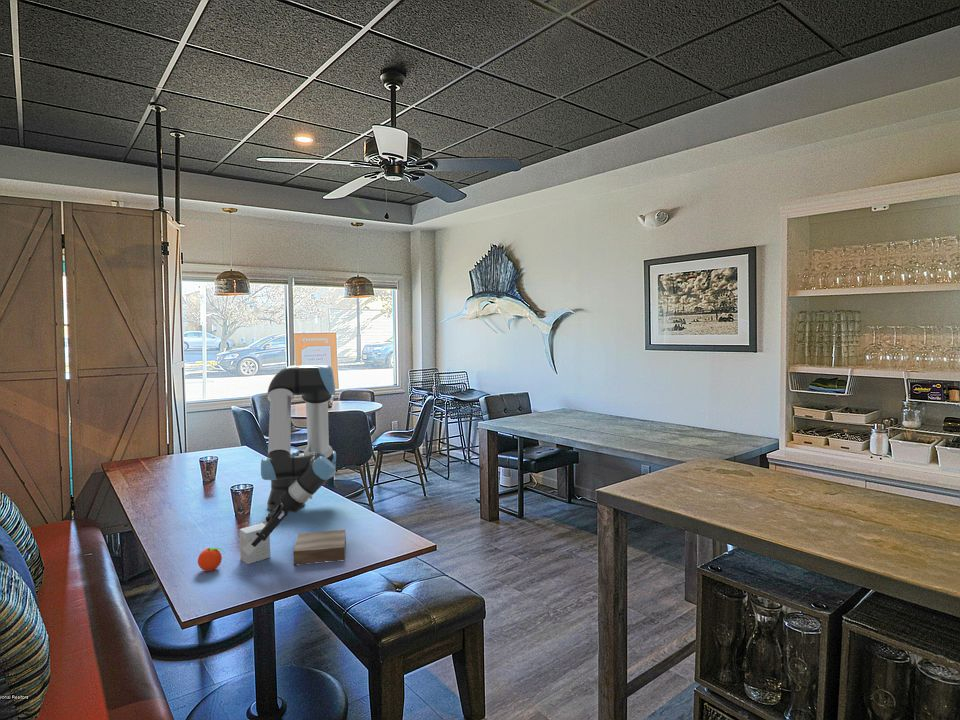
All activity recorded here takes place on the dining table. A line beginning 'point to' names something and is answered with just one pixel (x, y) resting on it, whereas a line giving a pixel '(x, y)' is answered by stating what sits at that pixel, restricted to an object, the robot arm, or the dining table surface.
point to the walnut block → (319, 547)
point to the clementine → (209, 559)
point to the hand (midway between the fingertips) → (249, 544)
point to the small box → (262, 548)
